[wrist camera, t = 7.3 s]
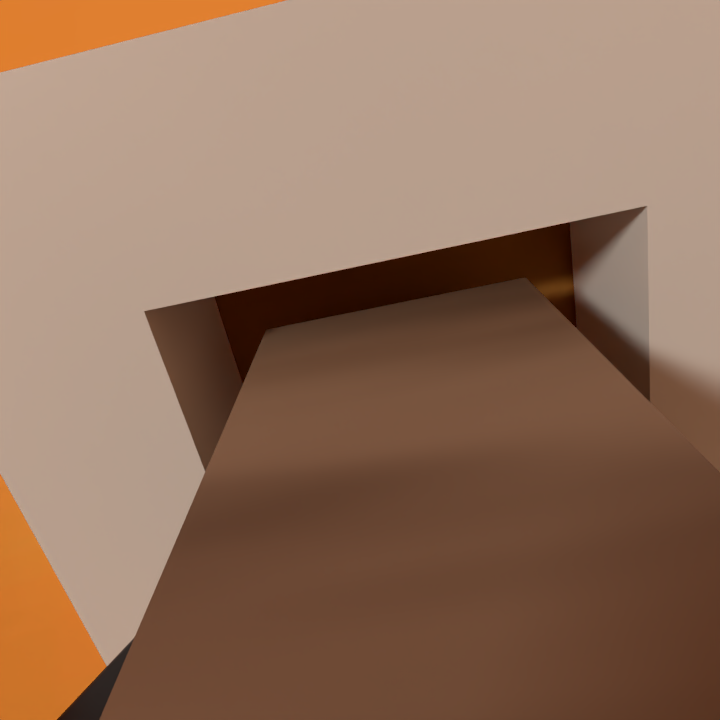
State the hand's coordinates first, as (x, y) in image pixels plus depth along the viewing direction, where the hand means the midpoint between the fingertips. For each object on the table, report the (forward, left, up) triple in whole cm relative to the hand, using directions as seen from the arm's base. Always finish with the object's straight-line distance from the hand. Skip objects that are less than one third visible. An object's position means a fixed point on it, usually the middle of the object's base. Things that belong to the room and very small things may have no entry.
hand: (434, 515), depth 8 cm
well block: (0, 0, -4) cm, 4 cm away
